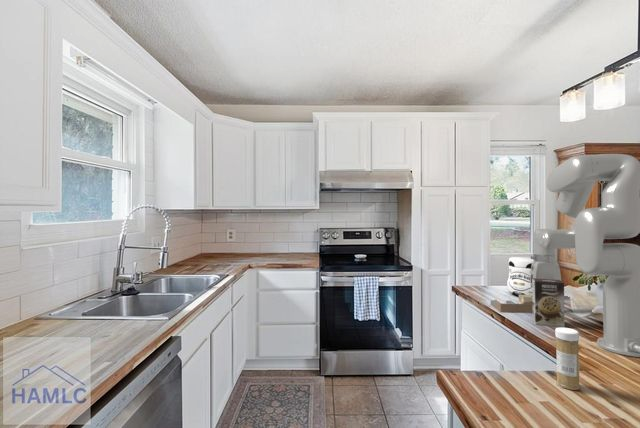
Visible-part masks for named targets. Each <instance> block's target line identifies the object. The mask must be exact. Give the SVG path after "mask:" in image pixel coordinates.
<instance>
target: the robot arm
mask: <svg viewBox="0 0 640 428" xmlns="http://www.w3.org/2000/svg"><path fill="white" fill-rule="evenodd" d="M607 181H608V183H607V184H606V185H605V187H604V188H603V190H602V193H601V207H587V208H586V205H587V202H588V201H589V198H590V196H591V194H592V192H593V189H594V187H595V184H596V182H607ZM546 188H547V190H548V191H550V192H551V193H559V195H558V197H557V200H556V202H555V208H556V210H557V211H558V212H559V213H561V214H563V215H565V216H568V217H571V218H573V219H574V221H573V224H572V226H571V228H570V229H567V228H566V229H550V228H537V229H534V230H533V255H531V256H530V257H531V259H533V260H534V261H533V262H532V266H531V274H530V282H531V288H532V278H537V279H553V280H560V281H562V275H561V269H560V264H559V262H558V261H556V260H557V259H556V258H557V256H556V255H557V254H556V253H557V251H556V250H559V249H560V250H561V249H563V250H565V249H575V260H576V264H577V267H578V268H579V270H580V271H581V272H582V273H583V274H585V275H588V276H601V277H603V276H605V277H606V276H607V277H606V279H605V281H604V284H603V287H602V318H603V319H602V321H603V322H602V323H603V324H602V325H603V329H602V330H603V337H598V338H597V339H596V344H597V345H598V346H599V347H600V348H602V349H604V350H606V351H608V352H612V353H615V354H619V355H623V356H628V357H635V358H640V245H638V244H635V243H630V242H629V243H626V242H625V243H624V242H619V243H618V242H616V243H615V242H613V243H611V242H609V243H604V240H618V239H620V240H623V239H631V238H634V237H637V236H638V235H639V234H640V161H639V160H638V159H637V158H636V157H634V156H632V155H629V154H624V153H600V154H599V153H598V154H581V155H580V154H578V155H574V156H571V157H569V158H568V159H566V160H565V161H563V162H561V163H560V164H559V165H557V166H556V167H554V168H553V169H552V170H551V171H550V173H548V176H547V178H546Z"/></svg>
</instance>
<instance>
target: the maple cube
mask: <svg viewBox="0 0 640 428" xmlns="http://www.w3.org/2000/svg"><path fill="white" fill-rule="evenodd" d="M518 303H519V304H532V296H530V295H519V296H518Z"/></svg>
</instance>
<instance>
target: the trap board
mask: <svg viewBox="0 0 640 428" xmlns="http://www.w3.org/2000/svg"><path fill="white" fill-rule="evenodd" d="M490 306H491V307H493V308H494V309H496V310H497V311H498V312H499V313H518V314H519V313H520V314H523V313H524V314H525V313H526V314H532V304H519V302H518V303H515V302H514V301H512V300H505V302H500V301H499V300H497V299H494V300H490Z"/></svg>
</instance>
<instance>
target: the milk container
mask: <svg viewBox="0 0 640 428" xmlns="http://www.w3.org/2000/svg"><path fill="white" fill-rule="evenodd" d="M533 261H534V260H533V259H531V256H511V257H509V258H508V279H507V282H506V285H507V290H508V292H509V293H510V294H512V295H515V296H517V297H519V295H530V296H532V288H531V282H530V274H531V266H532V262H533Z"/></svg>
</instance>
